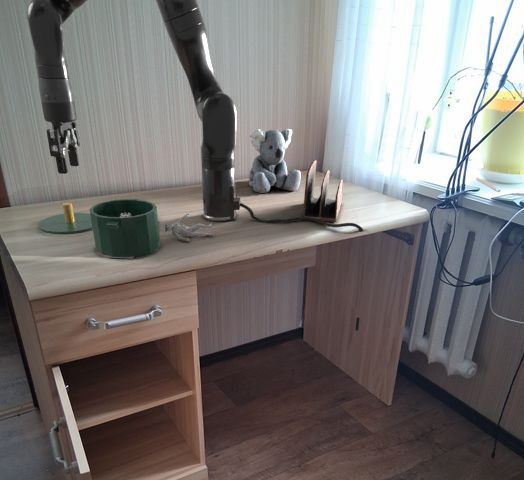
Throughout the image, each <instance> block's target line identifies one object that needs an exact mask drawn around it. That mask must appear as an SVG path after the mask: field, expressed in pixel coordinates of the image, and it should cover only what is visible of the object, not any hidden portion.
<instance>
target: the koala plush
mask: <svg viewBox="0 0 524 480" xmlns="http://www.w3.org/2000/svg"><path fill="white" fill-rule="evenodd" d="M292 135H293V130H292V129H289V128H285V129H283V130H281V131H279V130H277V129H268V130H266V131H265V130H263V129H260V128H257V127H256V128H254V129H253V131H252V132H251V134H250V135H249V137H250V143H251V145H252V147H254V149H255V150H256V151H257V152H258V153H259V155H256V156H255V157H254V159H253V162H252V167H251V168H250V170H249V174H248V185H249V186H250V187H252V188H253V191H254V192H256V193H260V194H267V193H269V192H270V190H271V187H275V188H277V189H280V190H285V191H288V192H289V191H291V192H295V191H298V189H299V187H300V184H301V177H302V174H301V173H302V172H301V171H300V170H297V169H291V170H290V171H289V172H288V168H287V163H286V161H285V160H284V158H285V153H286V150H287V149H288V148H289V144H290V143H291V141H292Z"/></svg>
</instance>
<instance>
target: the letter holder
mask: <svg viewBox="0 0 524 480" xmlns="http://www.w3.org/2000/svg"><path fill="white" fill-rule="evenodd" d="M317 163H318V161H317V159H314V160H312V162H311V163H310V165H309V168H308V170H307V172H306V175H305V176H306V177H305V186H304V198H303V207H302V208H303V209H302V217H310V218H315V219H318V220H321V221H323V222H326V223H337V220H338V217H339V213H340V210H341V205H342V200H343V182H344V180H343V178H341V179H340V180H339V182H338V186H337V190H336V193H335V199H331V198H328V194H329V184H330V183H329V181H330V170H327V171H326V172H325V173H324V176H323V179H322V183H321V185H320V194H319V196H318V197H314V190H315V182H316V170H317Z"/></svg>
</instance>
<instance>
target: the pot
mask: <svg viewBox="0 0 524 480" xmlns="http://www.w3.org/2000/svg"><path fill="white" fill-rule="evenodd" d="M88 211H89V214H90V217H91V223H92V234H93V235H92V236H93V239H94V240H93V241H94V245H95V247H94V248H95V250H96V252H97V253H99V254H100V255H102V256H107V257H110V260H111V259H112V260H134V259H139V258H144V257H148V256H151V255H153V254H155V253H157V252H158V251H159V250H160V247H161V237H160V236H161V235H160V226H159V216H158V207H157V206H156V204H155V203H154V202H151V201H148V200H144V199H140V198H122V199H121V198H120V199H112V200H106V201H102V202H99V203H96V204H93V205H92V206H91V207H90V208H89V210H88ZM122 213H123V215H124V213H126V214H127V215H128V213H130V214H131V216H130V217H120V214H122Z"/></svg>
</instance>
